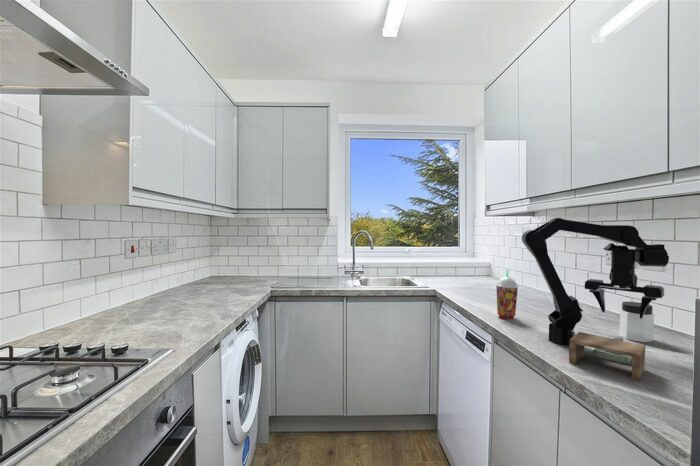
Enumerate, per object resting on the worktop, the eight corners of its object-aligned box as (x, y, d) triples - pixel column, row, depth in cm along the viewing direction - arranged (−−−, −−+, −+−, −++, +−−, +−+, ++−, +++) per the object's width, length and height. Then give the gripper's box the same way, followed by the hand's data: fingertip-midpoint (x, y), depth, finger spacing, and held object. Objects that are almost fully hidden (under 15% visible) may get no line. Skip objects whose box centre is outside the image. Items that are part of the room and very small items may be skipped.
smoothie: (492, 314, 147) (494, 268, 146) (513, 315, 145) (514, 269, 145) (498, 319, 138) (499, 271, 138) (520, 320, 137) (521, 272, 137)
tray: (593, 358, 99) (593, 349, 99) (601, 348, 108) (602, 340, 107) (628, 367, 93) (628, 357, 93) (634, 355, 102) (634, 347, 102)
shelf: (568, 365, 94) (569, 339, 94) (578, 355, 101) (579, 331, 101) (639, 384, 83) (640, 355, 83) (644, 372, 90) (645, 345, 90)
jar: (653, 338, 118) (654, 304, 117) (652, 344, 112) (654, 308, 111) (620, 332, 124) (621, 300, 123) (618, 338, 118) (619, 303, 117)
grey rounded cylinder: (607, 352, 102) (607, 337, 102) (609, 349, 104) (609, 335, 104) (621, 355, 99) (622, 340, 99) (623, 352, 102) (623, 338, 102)
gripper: (667, 266, 103) (666, 316, 103) (594, 261, 117) (593, 305, 118) (661, 269, 96) (660, 323, 96) (584, 263, 110) (583, 311, 110)
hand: (621, 315), depth 105 cm, fingers open, 9 cm apart
